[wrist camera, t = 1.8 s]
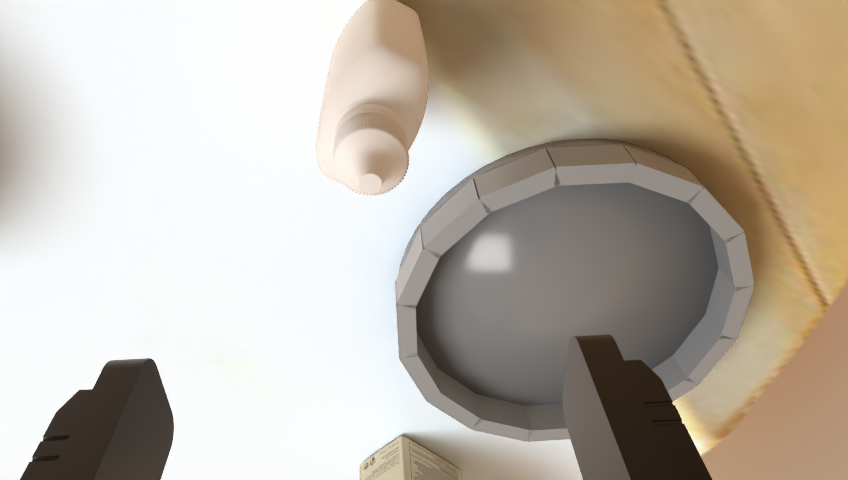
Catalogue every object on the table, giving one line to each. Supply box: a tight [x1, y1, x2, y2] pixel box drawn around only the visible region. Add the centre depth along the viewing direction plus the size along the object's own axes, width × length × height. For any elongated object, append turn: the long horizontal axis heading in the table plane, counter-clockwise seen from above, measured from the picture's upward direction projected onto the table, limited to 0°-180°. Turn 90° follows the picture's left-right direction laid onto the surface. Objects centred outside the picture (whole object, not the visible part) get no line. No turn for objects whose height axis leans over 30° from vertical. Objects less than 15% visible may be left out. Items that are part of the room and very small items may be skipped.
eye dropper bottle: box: [316, 0, 429, 195], centre depth 24 cm, size 4×6×12 cm
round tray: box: [395, 139, 755, 442], centre depth 36 cm, size 19×19×3 cm
